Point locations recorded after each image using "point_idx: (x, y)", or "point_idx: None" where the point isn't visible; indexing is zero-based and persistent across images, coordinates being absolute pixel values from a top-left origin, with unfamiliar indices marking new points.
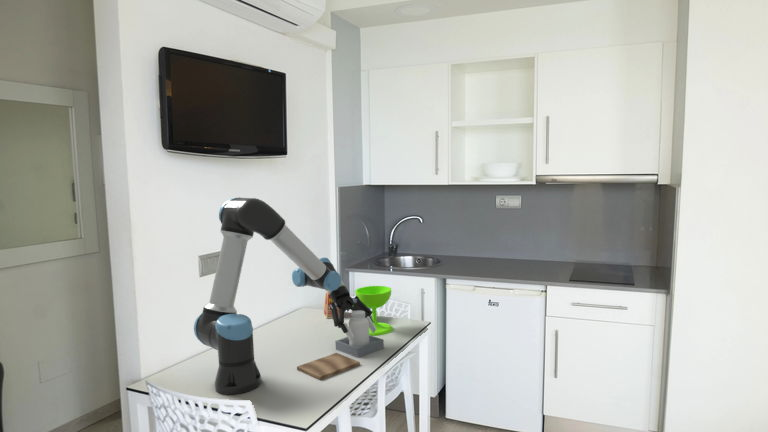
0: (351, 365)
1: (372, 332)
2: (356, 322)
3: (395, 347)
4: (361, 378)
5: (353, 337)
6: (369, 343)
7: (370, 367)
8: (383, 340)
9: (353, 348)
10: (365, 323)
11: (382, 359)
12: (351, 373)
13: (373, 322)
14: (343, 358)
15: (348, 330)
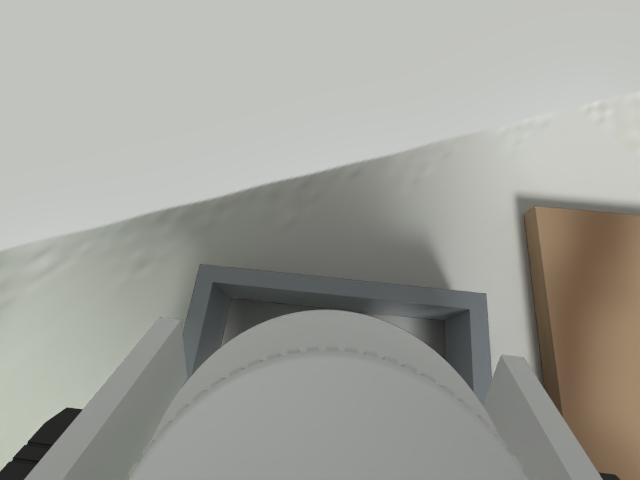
0: (601, 214)
1: (184, 376)
2: (478, 407)
3: (174, 228)
4: (616, 103)
5: (501, 365)
6: (337, 295)
7: (500, 151)
8: (203, 266)
9: (485, 346)
10: (331, 311)
11: (377, 170)
12: (628, 175)
13: (65, 410)
14: (589, 335)
15: (579, 453)
